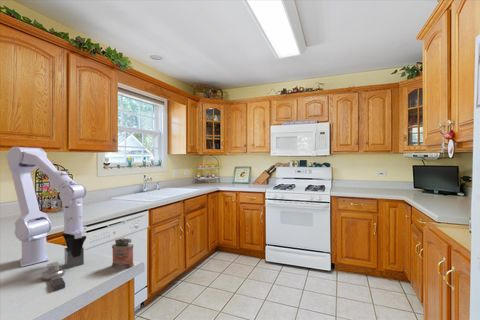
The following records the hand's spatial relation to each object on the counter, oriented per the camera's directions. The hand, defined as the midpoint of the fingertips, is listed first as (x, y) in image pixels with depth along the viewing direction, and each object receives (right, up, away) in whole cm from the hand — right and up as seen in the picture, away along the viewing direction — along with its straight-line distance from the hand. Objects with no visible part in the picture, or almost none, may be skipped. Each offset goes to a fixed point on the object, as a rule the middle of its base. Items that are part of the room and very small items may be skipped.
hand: (74, 253), depth 89 cm
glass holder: (-76, -6, +95) cm, 122 cm away
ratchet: (+3, -4, -12) cm, 13 cm away
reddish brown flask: (+19, -4, -2) cm, 20 cm away
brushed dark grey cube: (0, -4, 0) cm, 4 cm away
